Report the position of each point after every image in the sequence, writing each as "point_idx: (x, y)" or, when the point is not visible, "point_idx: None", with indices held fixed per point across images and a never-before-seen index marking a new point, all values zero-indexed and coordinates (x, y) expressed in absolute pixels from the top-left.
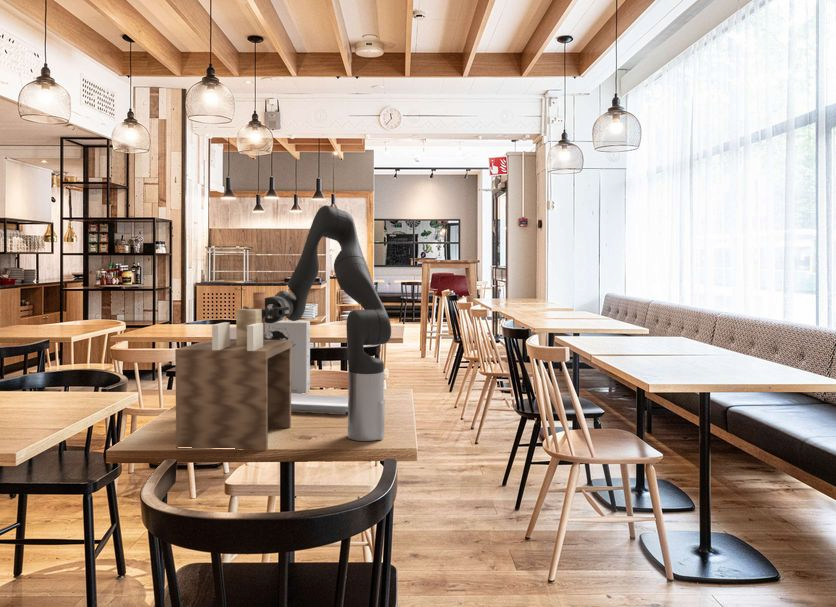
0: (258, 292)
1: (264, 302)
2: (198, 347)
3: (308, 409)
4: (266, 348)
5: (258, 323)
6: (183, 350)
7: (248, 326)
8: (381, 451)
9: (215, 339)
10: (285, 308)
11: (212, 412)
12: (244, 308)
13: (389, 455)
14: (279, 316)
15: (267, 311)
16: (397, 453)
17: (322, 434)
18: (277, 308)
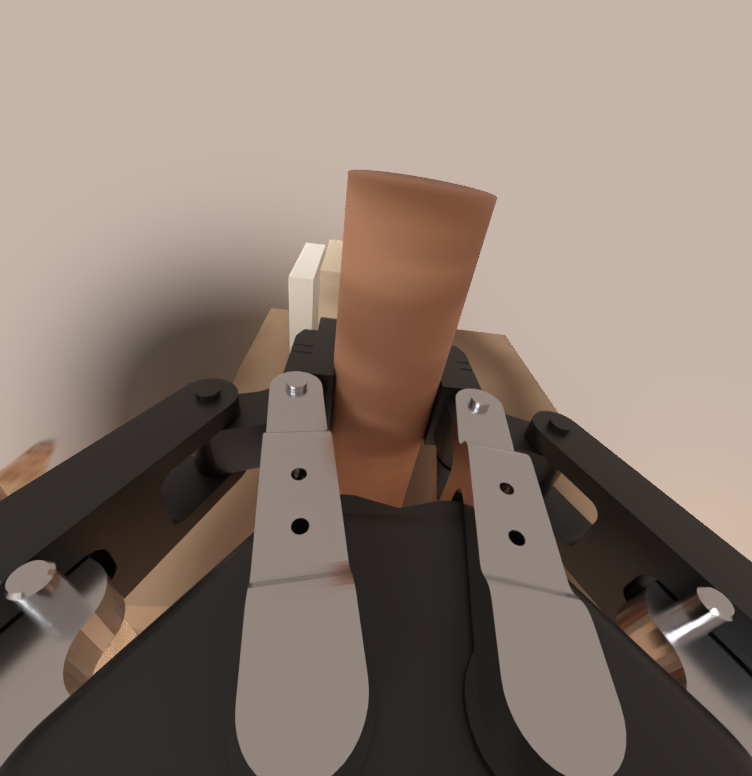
0: (443, 189)
1: (338, 300)
2: (479, 355)
3: None
4: (274, 336)
5: (304, 269)
6: (484, 334)
7: (320, 246)
8: (37, 477)
9: None
10: (3, 514)
11: None
12: (587, 442)
13: (36, 456)
14: (178, 477)
15: (294, 341)
16: (9, 466)
17: (125, 621)
18: (188, 385)
